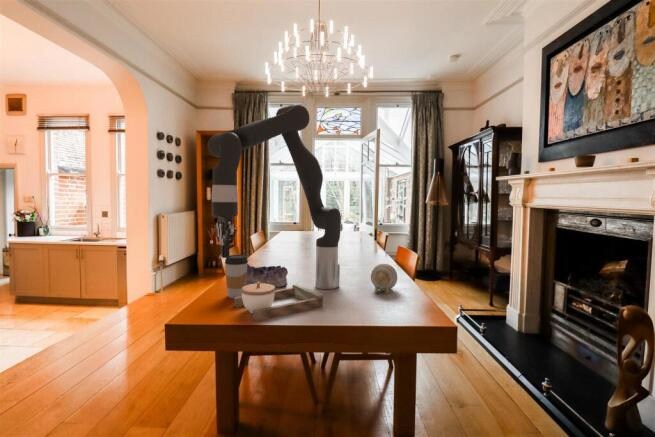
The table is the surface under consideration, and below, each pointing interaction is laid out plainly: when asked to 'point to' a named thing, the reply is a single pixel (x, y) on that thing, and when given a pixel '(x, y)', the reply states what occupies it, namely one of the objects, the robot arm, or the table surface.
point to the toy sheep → (384, 277)
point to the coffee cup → (236, 274)
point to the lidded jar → (258, 296)
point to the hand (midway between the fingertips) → (225, 257)
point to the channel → (308, 302)
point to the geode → (267, 275)
